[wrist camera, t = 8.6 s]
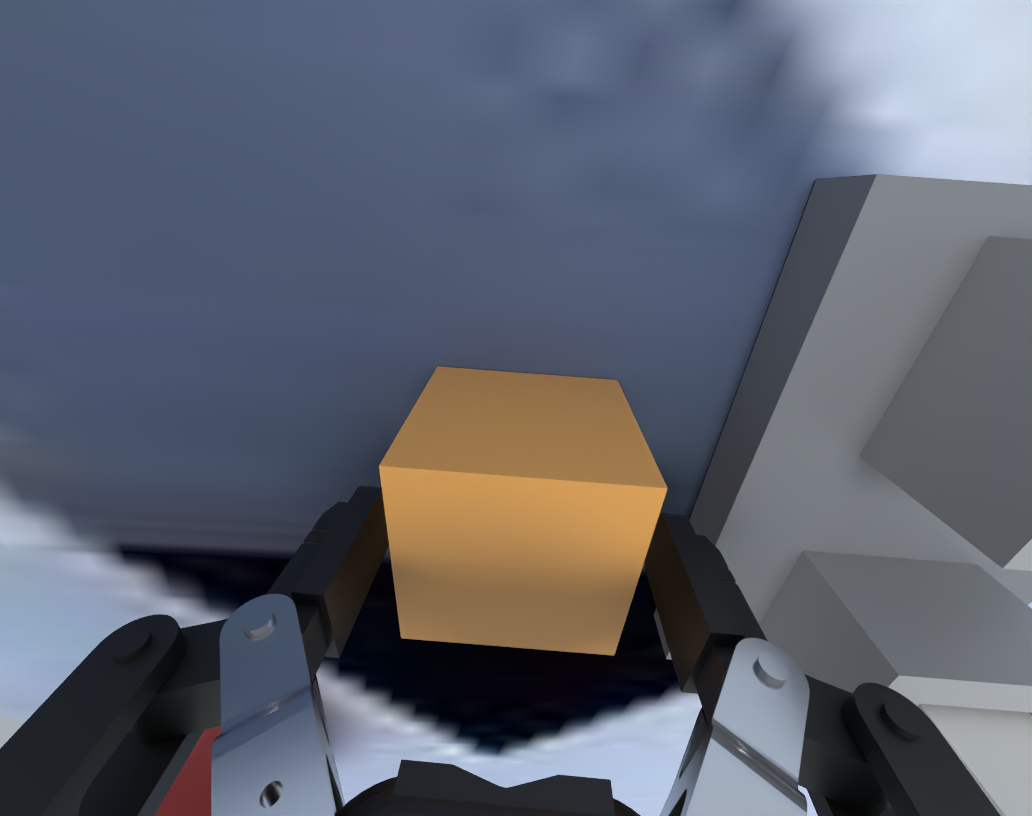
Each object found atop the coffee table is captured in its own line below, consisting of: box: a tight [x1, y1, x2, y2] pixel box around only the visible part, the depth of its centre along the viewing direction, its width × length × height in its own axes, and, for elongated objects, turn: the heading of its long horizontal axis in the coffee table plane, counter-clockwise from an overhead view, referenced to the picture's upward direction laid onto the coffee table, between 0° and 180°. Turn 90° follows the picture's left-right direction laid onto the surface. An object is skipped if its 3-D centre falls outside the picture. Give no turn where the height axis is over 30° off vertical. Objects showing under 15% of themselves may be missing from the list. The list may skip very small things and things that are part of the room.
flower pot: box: [154, 726, 221, 816], centre depth 20 cm, size 11×11×10 cm
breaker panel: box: [654, 174, 1032, 715], centre depth 12 cm, size 18×12×6 cm, turn 176°
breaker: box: [918, 704, 1032, 816], centre depth 10 cm, size 3×3×6 cm
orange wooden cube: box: [379, 366, 668, 655], centre depth 12 cm, size 6×6×6 cm
